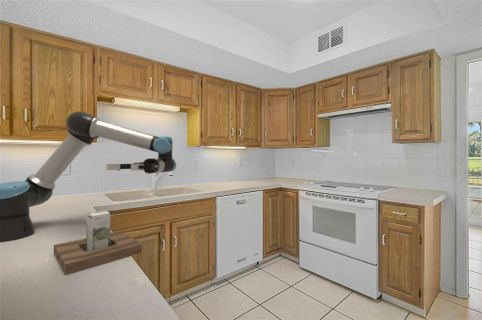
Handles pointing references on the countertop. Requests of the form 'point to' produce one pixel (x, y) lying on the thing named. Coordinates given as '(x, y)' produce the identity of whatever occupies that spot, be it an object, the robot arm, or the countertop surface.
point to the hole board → (94, 252)
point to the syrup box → (97, 230)
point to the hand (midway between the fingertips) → (119, 167)
